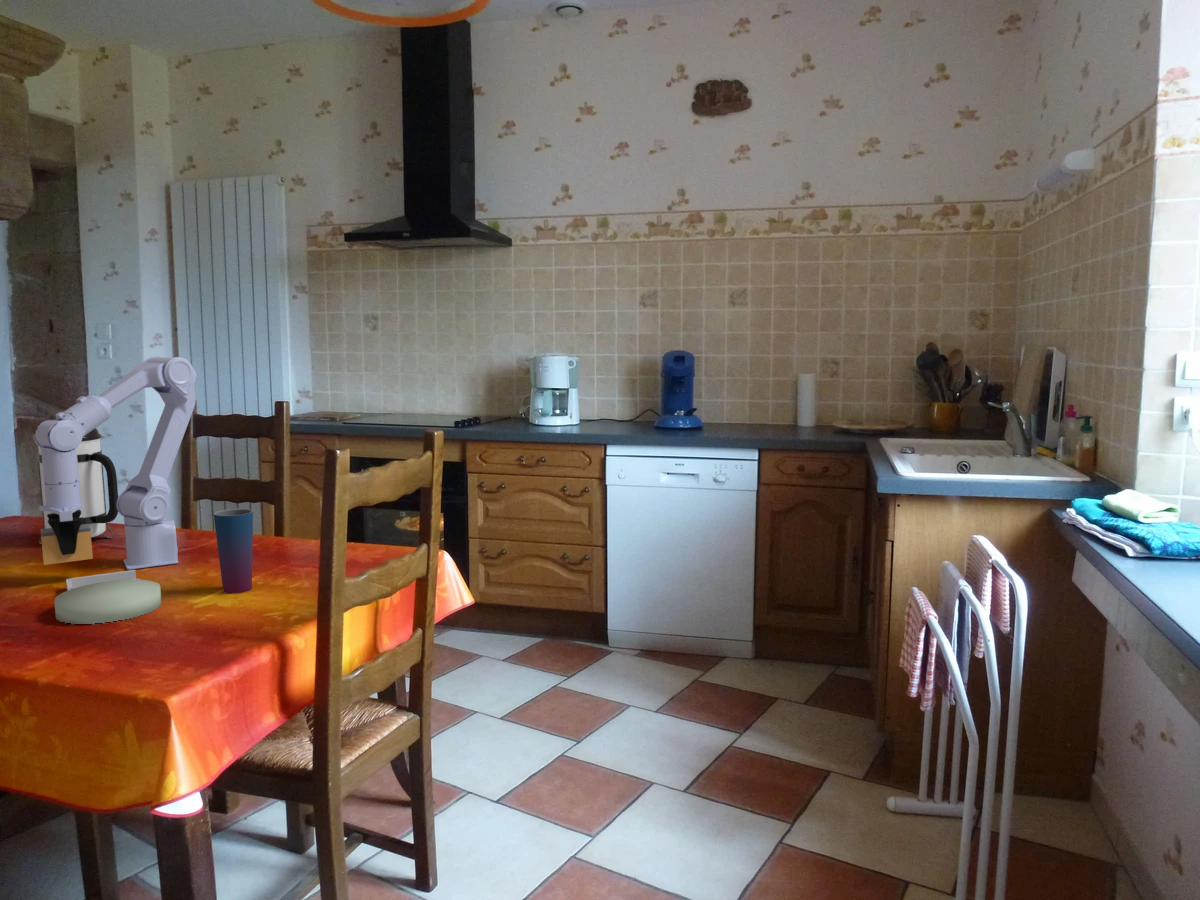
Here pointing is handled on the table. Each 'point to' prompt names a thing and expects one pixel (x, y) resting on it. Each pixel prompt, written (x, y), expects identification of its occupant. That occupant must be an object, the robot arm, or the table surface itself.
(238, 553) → the cup
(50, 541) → the rectangular flat-faced block
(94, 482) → the coffee press
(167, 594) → the table surface
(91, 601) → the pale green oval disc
